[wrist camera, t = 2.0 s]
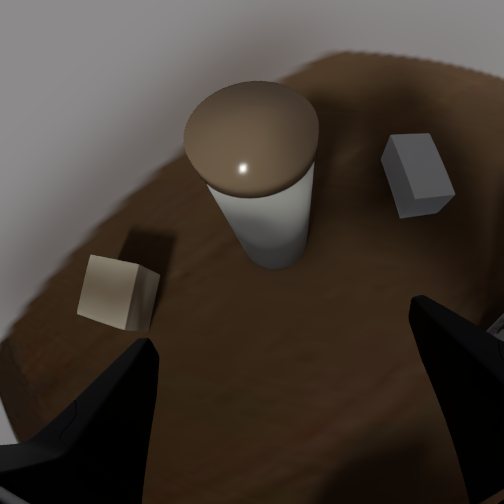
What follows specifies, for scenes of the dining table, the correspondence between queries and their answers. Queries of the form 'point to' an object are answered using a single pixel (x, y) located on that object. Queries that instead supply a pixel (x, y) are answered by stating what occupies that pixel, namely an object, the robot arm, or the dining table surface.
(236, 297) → the dining table surface
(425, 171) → the grey block
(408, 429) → the dining table surface
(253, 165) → the ceramic jar
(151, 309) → the birch block
